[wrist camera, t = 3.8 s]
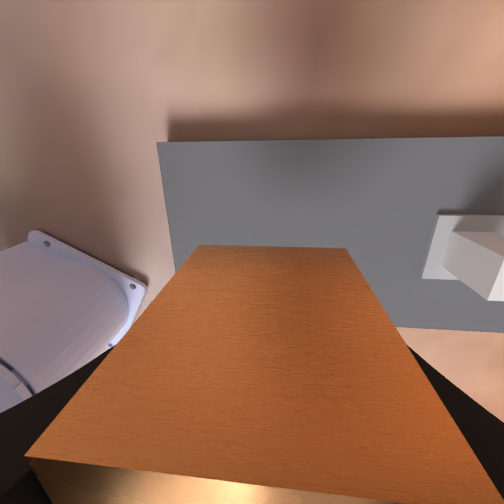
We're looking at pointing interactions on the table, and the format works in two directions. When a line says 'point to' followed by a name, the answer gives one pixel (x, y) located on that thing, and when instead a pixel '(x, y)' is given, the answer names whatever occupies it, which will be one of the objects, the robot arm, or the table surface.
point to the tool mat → (358, 214)
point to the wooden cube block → (260, 397)
